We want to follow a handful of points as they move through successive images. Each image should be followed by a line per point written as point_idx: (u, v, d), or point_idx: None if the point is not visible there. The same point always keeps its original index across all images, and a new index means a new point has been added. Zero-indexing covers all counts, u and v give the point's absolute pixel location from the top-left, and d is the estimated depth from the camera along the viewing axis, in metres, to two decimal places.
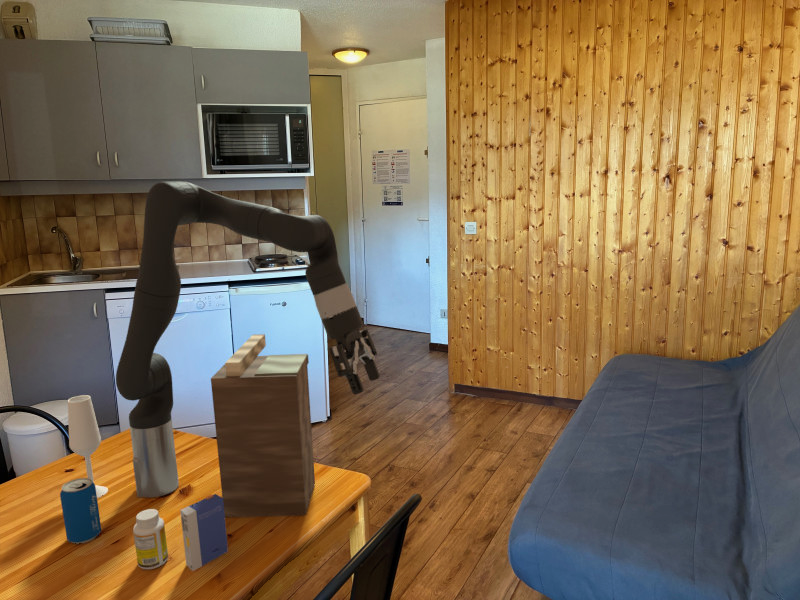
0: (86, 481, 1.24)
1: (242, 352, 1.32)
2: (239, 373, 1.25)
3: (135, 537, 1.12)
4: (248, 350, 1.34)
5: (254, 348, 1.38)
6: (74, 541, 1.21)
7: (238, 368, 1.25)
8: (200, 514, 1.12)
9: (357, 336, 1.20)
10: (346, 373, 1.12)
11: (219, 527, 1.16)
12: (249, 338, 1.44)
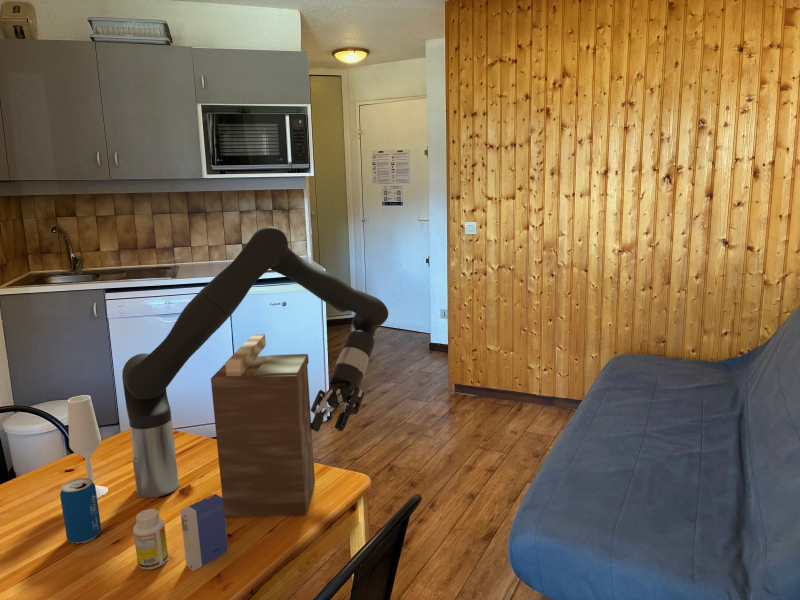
0: (86, 481, 1.24)
1: (242, 352, 1.32)
2: (239, 373, 1.25)
3: (135, 537, 1.12)
4: (248, 350, 1.34)
5: (254, 348, 1.38)
6: (74, 541, 1.21)
7: (238, 368, 1.25)
8: (200, 514, 1.12)
9: None
10: (355, 411, 1.36)
11: (219, 527, 1.16)
12: (249, 338, 1.44)
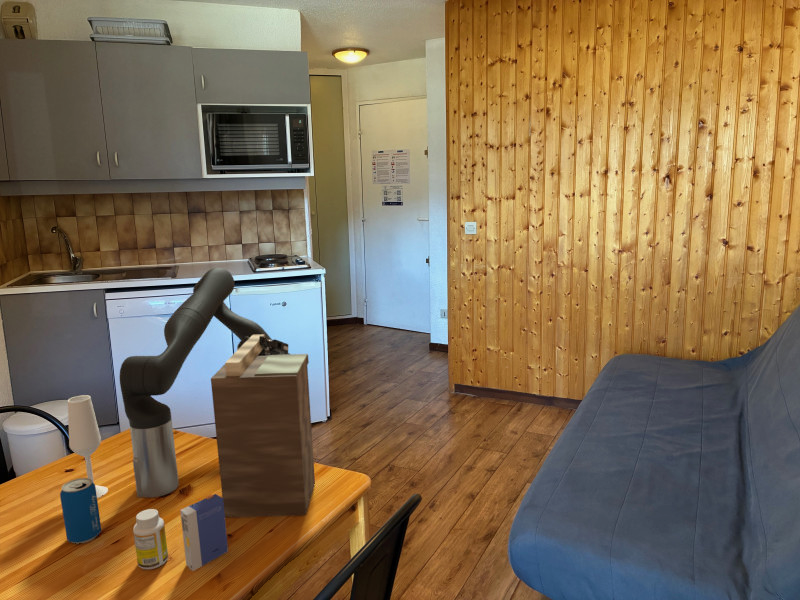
0: (86, 481, 1.24)
1: (242, 352, 1.32)
2: (239, 373, 1.25)
3: (135, 537, 1.12)
4: (248, 350, 1.34)
5: (254, 348, 1.37)
6: (74, 541, 1.21)
7: (238, 368, 1.25)
8: (200, 514, 1.12)
9: None
10: (276, 346, 1.47)
11: (219, 527, 1.16)
12: (249, 338, 1.44)
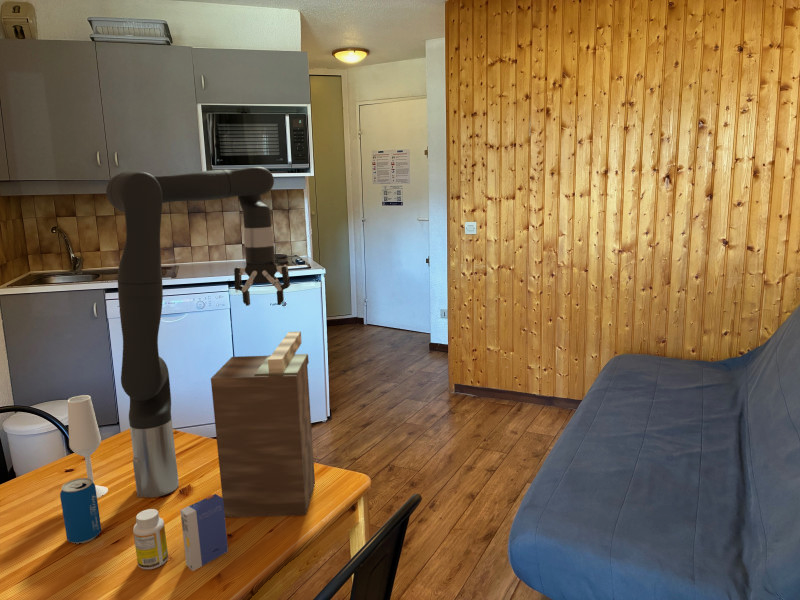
0: (86, 481, 1.24)
1: (282, 349, 1.32)
2: (282, 370, 1.25)
3: (135, 537, 1.12)
4: (288, 347, 1.34)
5: (293, 345, 1.37)
6: (74, 541, 1.21)
7: (281, 365, 1.25)
8: (200, 514, 1.12)
9: None
10: None
11: (219, 527, 1.16)
12: (286, 335, 1.44)
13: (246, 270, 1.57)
